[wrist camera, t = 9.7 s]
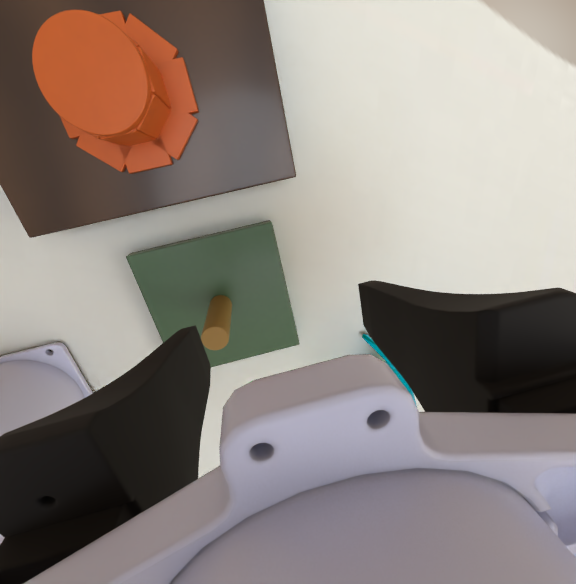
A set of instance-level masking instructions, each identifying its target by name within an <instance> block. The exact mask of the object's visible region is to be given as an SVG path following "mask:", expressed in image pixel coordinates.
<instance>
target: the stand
mask: <svg viewBox="0 0 576 584" xmlns="http://www.w3.org/2000/svg"><path fill="white" fill-rule="evenodd" d="M74 9H75V10H85V11H90V12H93V13H96V14H104V13H110V12H115V11H121V12H122V13H123V15H124V17H125V20H126V21H127V18H128V16H129V14H130V13H131V14H132V15H133V16H135V17H136V18H137V19H139V20H140V21H141V22H143V23H144V24H145V25H147V26H148V27H149V28H150V29H152V30H153V31H154V32H156V33H157V34H158V35H160V36H161V37H162V38H164V39H165V40H166V41H168V42H169V43H170V44H172V45H173V46H174V47H176V48H177V50H178V54H177V56H176V58H181V57H183V59H184V61H185V64H186V68H187V71H188V75H189V78H190V82H191V86H192V89H193V93H194V96H195V100H196V103H197V107H198V110H199V112H198V113H193V114H191V115H192V116H194V117H195V118H197V119H198V122H197V124H196V126H195V128H194V130H193V132H192V134H191V136H190V138H189V140H188V142H187V144H186V146H185V148H184V150H183V152H182V154H181V156H180V158H179V160H177V159H175V158H174V157H172V156H171V159H172V162H173V165H168V166H164V167H160V168H155V169H151V170H146V171H142V172H137V173H133V174H129V172H128V170H127V167H126V168H125V171H124V172H120V171H118V170H117V169H115V168H113V167H111V166H110V165H108V164H106V163H105V162H103V161H101V160H100V159H98V158H96V157H94V156H93V155H91V154H89V153H88V152H86V151H84V150H83V149H81V148H79V147H77V146H76V144H77V142H78V139H79V138H77V139H70V138H69V136H68V134H67V131H66V129H65V127H64V125H63V122H62V120H61V118H60V116H59V115H58V114H57V113H56V112H55V110H54V109H53V108H52V107H51V106H50V104H49V103H48V102H47V100H46V99H45V97H44V96H43V94H42V92H41V90H40V88H39V86H38V83H37V80H36V77H35V74H34V70H33V63H32V51H33V44H34V40H35V37H36V35H37V32H38V30H39V29H40V27H41V26H42V25H43V23H44V22H45V21H46V20H47V19H49V18H50V17H51V16H53V15H55V14H57V13H59V12H62V11H66V10H74ZM293 177H296V172H295V167H294V162H293V156H292V151H291V145H290V140H289V135H288V129H287V124H286V119H285V113H284V108H283V102H282V97H281V92H280V86H279V81H278V76H277V70H276V65H275V59H274V54H273V49H272V43H271V38H270V33H269V27H268V22H267V16H266V11H265V6H264V0H0V185H1V187H2V188H3V190H4V192H5V194H6V196H7V197H8V199H9V201H10V203H11V205H12V207H13V208H14V210H15V212H16V214H17V216H18V217H19V219H20V221H21V223H22V225H23V227H24V228H25V230H26V232H27V234H28V236H29V237H31V238H32V237H36V236H41V235H45V234H49V233H54V232H58V231H62V230H67V229H71V228H75V227H80V226H84V225H88V224H93V223H97V222H102V221H106V220H110V219H115V218H119V217H123V216H128V215H132V214H136V213H141V212H145V211H149V210H154V209H158V208H162V207H167V206H171V205H176V204H180V203H184V202H189V201H193V200H197V199H202V198H206V197H210V196H215V195H219V194H223V193H228V192H232V191H236V190H241V189H245V188H249V187H254V186H258V185H263V184H267V183H271V182H276V181H280V180H284V179H289V178H293Z"/></svg>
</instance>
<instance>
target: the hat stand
mask: <svg viewBox="0 0 576 584" xmlns="http://www.w3.org/2000/svg"><path fill="white" fill-rule="evenodd" d="M126 258H127V260H128V263H129V265H130V267H131V269H132V272H133V274H134V276H135V279H136V281H137V283H138V286H139V288H140V290H141V293H142V295H143V297H144V299H145V302H146V304H147V306H148V309H149V311H150V313H151V316H152V318H153V320H154V322H155V325H156V327H157V329H158V332H159V334H160V336H161V339H162V341H163V343H164V342H165V341H166V340H167V339H169V338H170V337H171V336H172V335H173V334H175V333H176V332H177V331H179V330H180V329H183V328H187V327H191V326H195V325H196V327H197V330H198V333H199V335H200V338H201V341H202V343H203V346H204V349H205V351H206V354H207V357H208V359H209V362H210V365H211V366H210V367H214V366H218V365H222V364H225V363H229V362H233V361H237V360H241V359H245V358H249V357H252V356H256V355H260V354H264V353H268V352H272V351H275V350H279V349H283V348H287V347H291V346H295V345H298V344H299V340H298V335H297V331H296V326H295V322H294V318H293V313H292V309H291V305H290V300H289V296H288V291H287V287H286V283H285V278H284V274H283V269H282V265H281V261H280V256H279V252H278V248H277V243H276V239H275V234H274V230H273V226H272V222H271V221H270V220H269V221H265V222H260V223H256V224H252V225H248V226H243V227H239V228H235V229H231V230H227V231H222V232H218V233H214V234H210V235H205V236H201V237H197V238H193V239H188V240H184V241H180V242H176V243H172V244H167V245H163V246H159V247H155V248H150V249H146V250H142V251H138V252H134V253H131V254H129V255H128V256H126Z"/></svg>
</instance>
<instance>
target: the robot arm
mask: <svg viewBox="0 0 576 584" xmlns="http://www.w3.org/2000/svg"><path fill="white" fill-rule="evenodd" d="M358 285H359V293H360V301H361V308H362V316H363V324H364V326H365V328H366V330H367V332H368V333H369V335H370V337H371V338H372V340H373V341H374V343H375V344H376V345H377V347H378V348H379V349H380V350H381V351H382V353H383V354H384V355H385V356H386V358H387V359H388V360H389V361H390V362H391V364H392V365H393V366H394V367H395V368H396V370H397V371H398V372H399V373H400V374H401V376H402V377H403V378H404V380H405V381H406V382H407V384H408V385H409V387H410V388H411V390H412V391H413V393H414V394H415V396H416V397H417V399H418V401H419V402H420V404H421V405H422V407H423V409H424V410H425V412H418V409H417V407H416V405H415V402H414V400H413V398H412V395H411V394H410V393H409V391H408V390H407V389H406V387H405V386H404V385H403V384H402V382H401V381H400V380H399V378H398V377H397V376H396V374H395V373H394V372H393V371H392V369H391V368H390V367H389V365H388V364H387V363H386V362H384V361H382V360H380V359H378V358H376V357H374V356H373V355H371V354H364V355H347V356H343V357H339V358H336V359H332V360H328V361H324V362H321V363H317V364H313V365H309V366H305V367H302V368H298V369H294V370H290V371H287V372H283V373H279V374H275V375H272V376H268V377H264V378H260V379H256V380H254V381H252V382H250V383H248V384H246V385H244V386H242V387H240V388H238V389H236V390H234V392H233V393H232V395H231V396H230V398H229V399H228V401H227V402H226V404H225V405H224V407H223V415H222V427H221V438H220V466H219V467H217V468H215V469H214V470H212V471H210V472H209V473H207V474H205V475H204V476H202V477H200V478H199V479H198V464H199V450H200V438H201V431H202V425H203V420H204V415H205V409H206V404H207V399H208V393H209V387H210V366H211V365H210V362H209V359H208V357H207V354H206V351H205V349H204V346H203V343H202V341H201V338H200V335H199V333H198V330H197V327H196V325H195V326H191V327H187V328H183V329H180V330H179V331H177V332H176V333H175V334H173V335H172V336H171V337H170V338H169V339H167V340H166V341H165V342H164V343H163V344H162V345H160V346H159V347H158V348H157V349H156V350H155V351H153V352H152V353H151V354H150V355H149V356H147V357H146V358H145V359H144V360H142V361H141V362H140V363H139V364H137V365H136V366H135V367H133V368H132V369H131V370H129V371H128V372H126V373H125V374H124V375H122V376H121V377H119V378H118V379H116V380H115V381H113V382H111V383H110V384H108V385H106V386H105V387H103V388H101V389H99V390H98V391H96V392H94V393H93V392H92V390H91V389H90V387H89V385H88V384H87V382H86V380H85V378H84V377H83V375H82V373H81V372H80V370H79V368H78V366H77V365H76V363H75V361H74V360H73V358H72V356H71V355H70V353H69V351H68V349H67V348H66V346H65V345H64V344H63V343H60V342H55V343H51V344H47V345H43V346H39V347H35V348H31V349H27V350H23V351H19V352H15V353H11V354H7V355H3V356H0V584H576V293H573V292H570V291H568V290H565V289H562V288H551V289H543V290H535V291H527V292H518V293H504V294H452V293H440V292H432V291H425V290H419V289H414V288H409V287H404V286H399V285H395V284H390V283H386V282H380V281H368V282H364V283H360V284H358ZM49 349H50V350H52V351H53V352H50V351H49Z"/></svg>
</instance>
